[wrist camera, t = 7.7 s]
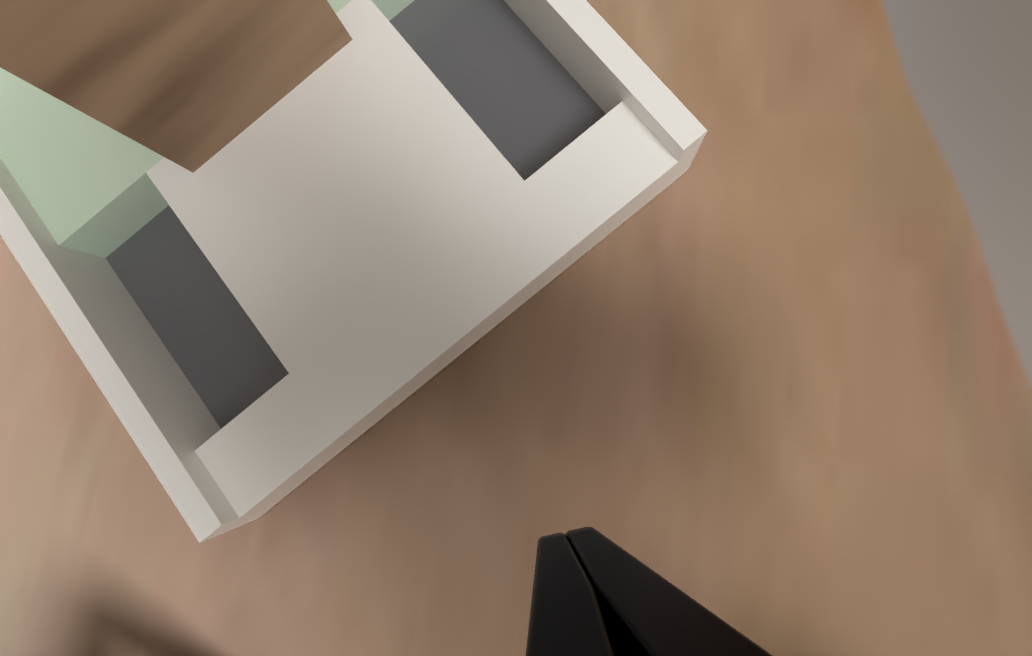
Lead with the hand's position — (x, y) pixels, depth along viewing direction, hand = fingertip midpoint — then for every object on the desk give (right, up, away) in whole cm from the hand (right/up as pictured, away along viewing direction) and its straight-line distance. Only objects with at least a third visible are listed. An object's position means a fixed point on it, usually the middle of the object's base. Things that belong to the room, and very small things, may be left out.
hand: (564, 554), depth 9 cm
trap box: (-9, +11, +15) cm, 21 cm away
